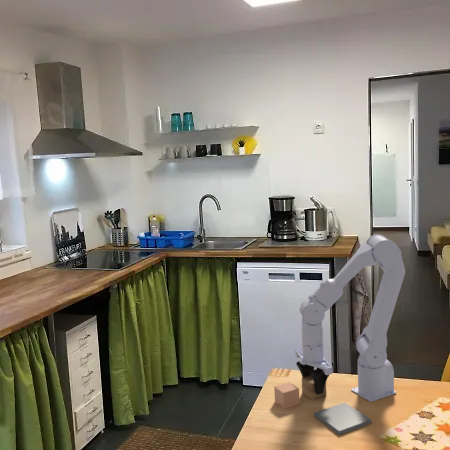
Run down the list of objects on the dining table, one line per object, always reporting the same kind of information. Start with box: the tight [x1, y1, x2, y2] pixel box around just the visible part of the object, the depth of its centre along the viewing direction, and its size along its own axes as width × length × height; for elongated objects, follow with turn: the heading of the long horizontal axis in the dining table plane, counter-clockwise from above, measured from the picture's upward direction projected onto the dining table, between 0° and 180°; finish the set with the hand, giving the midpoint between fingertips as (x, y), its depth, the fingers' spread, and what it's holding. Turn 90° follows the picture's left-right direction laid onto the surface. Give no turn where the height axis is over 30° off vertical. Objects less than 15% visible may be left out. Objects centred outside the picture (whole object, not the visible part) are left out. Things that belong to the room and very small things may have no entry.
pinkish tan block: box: [273, 381, 300, 410], centre depth 135 cm, size 5×4×5 cm
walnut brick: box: [301, 375, 327, 401], centre depth 139 cm, size 5×4×5 cm
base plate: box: [313, 402, 372, 436], centre depth 125 cm, size 10×10×1 cm
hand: (314, 389), depth 139 cm, fingers closed on walnut brick, 4 cm apart
